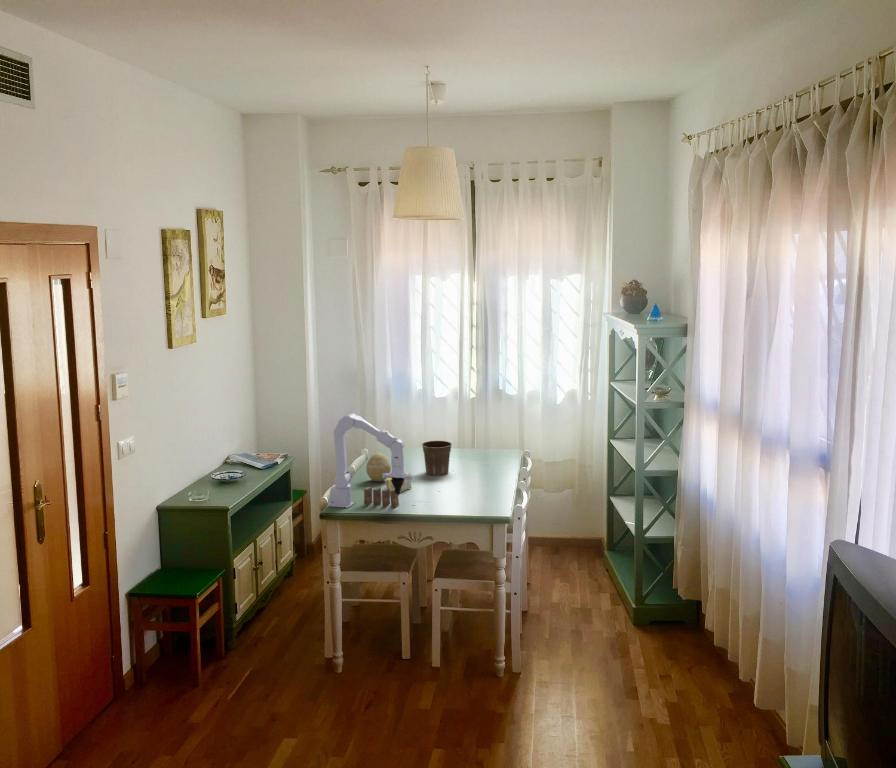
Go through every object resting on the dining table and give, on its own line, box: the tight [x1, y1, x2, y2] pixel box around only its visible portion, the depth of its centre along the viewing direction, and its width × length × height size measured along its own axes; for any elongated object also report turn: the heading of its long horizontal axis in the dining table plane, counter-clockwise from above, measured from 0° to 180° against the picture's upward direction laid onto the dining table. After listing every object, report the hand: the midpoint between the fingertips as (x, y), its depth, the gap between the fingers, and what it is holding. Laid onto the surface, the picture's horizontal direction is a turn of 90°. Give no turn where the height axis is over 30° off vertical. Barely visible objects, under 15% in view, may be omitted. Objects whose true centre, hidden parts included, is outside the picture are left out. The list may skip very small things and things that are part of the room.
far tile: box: [390, 488, 400, 509], centre depth 404 cm, size 2×5×8 cm, turn 164°
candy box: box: [385, 472, 412, 493], centre depth 429 cm, size 16×2×8 cm, turn 141°
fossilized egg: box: [365, 452, 392, 482], centre depth 449 cm, size 13×13×15 cm
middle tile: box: [381, 487, 391, 508], centre depth 406 cm, size 2×5×8 cm, turn 164°
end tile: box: [363, 486, 373, 507], centre depth 408 cm, size 2×5×8 cm, turn 164°
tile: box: [372, 486, 382, 507], centre depth 407 cm, size 2×5×8 cm, turn 164°
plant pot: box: [421, 440, 453, 477], centre depth 464 cm, size 16×16×16 cm
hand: (398, 493), depth 404 cm, fingers closed
